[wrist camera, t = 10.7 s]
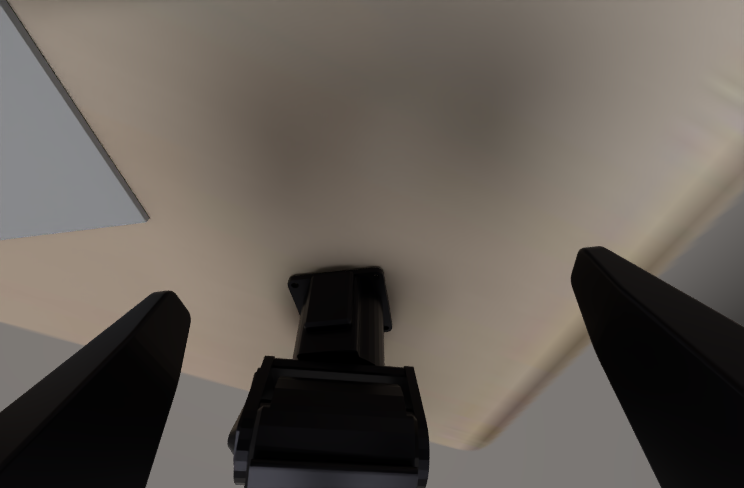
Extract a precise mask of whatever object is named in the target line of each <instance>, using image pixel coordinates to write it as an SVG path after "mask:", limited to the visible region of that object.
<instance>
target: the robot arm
mask: <svg viewBox="0 0 744 488" xmlns="http://www.w3.org/2000/svg"><path fill="white" fill-rule="evenodd" d="M375 274H376V275H377V276H375ZM295 283H297V284H295ZM571 285H572V288H573V291H574V294H575V297H576V299H577V302H578V305H579V308H580V311H581V314H582V317H583V320H584V322H585V325H586V328H587V331H588V334H589V337H590V340H591V342H592V345H593V347H594V350H595V352H596V354H597V357H598V359H599V361H600V363H601V365H602V367H603V369H604V371H605V373H606V375H607V377H608V379H609V381H610V384H611V386H612V388H613V390H614V391H615V394H616V396H617V398H618V400H619V402H620V404H621V406H622V408H623V410H624V412H625V414H626V416H627V418H628V420H629V423H630V425H631V427H632V429H633V431H634V433H635V435H636V437H637V439H638V441H639V443H640V445H641V447H642V449H643V451H644V453H645V455H646V457H647V459H648V462H649V464H650V466H651V468H652V470H653V472H654V474H655V476H656V478H657V480H658V482H659V484H660V486H661V488H744V327H743V326H741V325H740V324H738V323H736V322H734V321H733V320H731V319H729V318H727V317H726V316H724V315H722V314H720V313H719V312H717V311H715V310H713V309H712V308H710V307H708V306H706V305H705V304H703V303H701V302H699V301H698V300H696V299H694V298H692V297H691V296H689V295H687V294H685V293H683V292H682V291H680V290H678V289H676V288H675V287H673V286H671V285H670V284H668V283H666V282H664V281H663V280H661V279H659V278H657V277H656V276H654V275H652V274H650V273H649V272H647V271H645V270H643V269H642V268H640V267H638V266H636V265H635V264H633V263H631V262H629V261H627V260H626V259H624V258H622V257H620V256H619V255H617V254H615V253H613V252H612V251H610V250H608V249H606V248H604V247H601V246H596V247H586V248H582V249H580V250H579V251H578V254H577V257H576V260H575V264H574V267H573V270H572V274H571ZM288 288H289V290H290V292H291V295H292V297H293V300H294V302H295V304H296V307H297V309H298V312H299V314H300V321H299V327H298V332H297V337H296V343H295V348H294V354H293V359H281V358H275V356H265V357H264V360H263V362H262V365H261V368H258V370H257V372H255V374H254V377H253V381H252V385H251V389H250V392H249V394H248V397H247V400H246V403H245V405H244V407H243V409H242V411H241V413H240V415H239V417H238V419H237V421H236V422H235V424H234V426H233V428H232V430H231V432H230V434H229V437H228V447H229V449H230V450H231V452H232V453H233V455H234V483H235V484H236V485H245V486H244V488H425V487H426V484H427V479H428V472H429V435H428V428H427V422H426V418H425V413H424V409H423V405H422V401H421V397H420V392H419V388H418V384H417V380H416V375H415V371H414V367H411V366H404V368H403V367H390V366H385V363H384V332H389V331H391V330H392V320H391V314H390V308H389V303H388V297H387V291H386V285H385V279H384V273H383V270H382V269H380V268H366V269H356V270H347V271H337V272H328V273H318V274H308V275H299V276H292V277H290V278H289V280H288ZM190 323H191V317H190V313H189V311H188V310H187V309H186V307H185V306H184V304H183V303H182V302H181V300H180V299H179V297H178V296H177V295H176V293H174V292H173V291H160V292H154V293H152V294H150V295H149V296H148V297H147V298H145V299H144V300H143V301H141V302H140V303H139V304H138V305H136V306H135V307H134V308H133V309H131V310H130V311H129V312H127V313H126V314H125V315H124V316H122V317H121V318H120V319H119V320H117V321H116V322H115V323H113V324H112V325H111V326H110V327H108V328H107V329H106V330H104V331H103V332H102V333H101V334H99V335H98V336H97V337H96V338H94V339H93V340H92V341H90V342H89V343H88V344H87V345H85V346H84V347H83V348H82V349H80V350H79V351H78V352H77V353H75V354H74V355H73V356H71V357H70V358H69V359H68V360H66V361H65V362H64V363H62V364H61V365H60V366H59V367H57V368H56V369H55V370H54V371H52V372H51V373H50V374H49V375H47V376H46V377H45V378H43V379H42V380H41V381H40V382H38V383H37V384H36V385H34V386H33V387H32V388H31V389H29V390H28V391H27V392H26V393H24V394H23V395H22V396H21V397H19V398H18V399H17V400H15V401H14V402H13V403H12V404H10V405H9V406H8V407H6V408H5V409H4V410H3V411H1V412H0V488H145V487H146V484H147V480H148V478H149V474H150V471H151V468H152V465H153V462H154V459H155V455H156V452H157V449H158V446H159V443H160V440H161V437H162V433H163V430H164V427H165V424H166V421H167V417H168V414H169V411H170V408H171V405H172V402H173V398H174V395H175V392H176V388H177V385H178V381H179V377H180V373H181V368H182V363H183V358H184V353H185V348H186V343H187V338H188V333H189V328H190Z"/></svg>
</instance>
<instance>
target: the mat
mask: <svg viewBox="0 0 744 488" xmlns="http://www.w3.org/2000/svg"><path fill="white" fill-rule="evenodd" d="M148 219H149V217H148V215H147V214H146V212H145V211H144V209H143V208H142V206H141V205H140V203H139V202H138V200H137V199H136V197H135V196H134V194H133V193H132V191H131V189H130V188H129V186H128V185H127V183H126V182H125V180H124V179H123V177H122V176H121V174H120V173H119V171H118V170H117V168H116V167H115V165H114V164H113V162H112V161H111V159H110V158H109V156H108V155H107V153H106V152H105V150H104V148H103V147H102V145H101V144H100V142H99V141H98V139H97V138H96V136H95V135H94V133H93V132H92V130H91V129H90V127H89V126H88V124H87V123H86V121H85V120H84V118H83V117H82V115H81V114H80V112H79V111H78V109H77V108H76V106H75V104H74V103H73V101H72V100H71V98H70V97H69V95H68V94H67V92H66V91H65V89H64V88H63V86H62V85H61V83H60V82H59V80H58V79H57V77H56V76H55V74H54V73H53V71H52V70H51V68H50V67H49V65H48V63H47V62H46V60H45V59H44V57H43V56H42V54H41V53H40V51H39V50H38V48H37V47H36V45H35V44H34V42H33V41H32V39H31V38H30V36H29V35H28V33H27V32H26V30H25V29H24V27H23V26H22V24H21V23H20V21H19V19H18V18H17V16H16V15H15V13H14V12H13V10H12V9H11V7H10V6H9V4H8V3H7V1H6V0H0V240H5V239H13V238H22V237H30V236H38V235H46V234H54V233H63V232H71V231H79V230H87V229H95V228H104V227H112V226H120V225H128V224H136V223H144V222H147V221H148Z"/></svg>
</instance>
